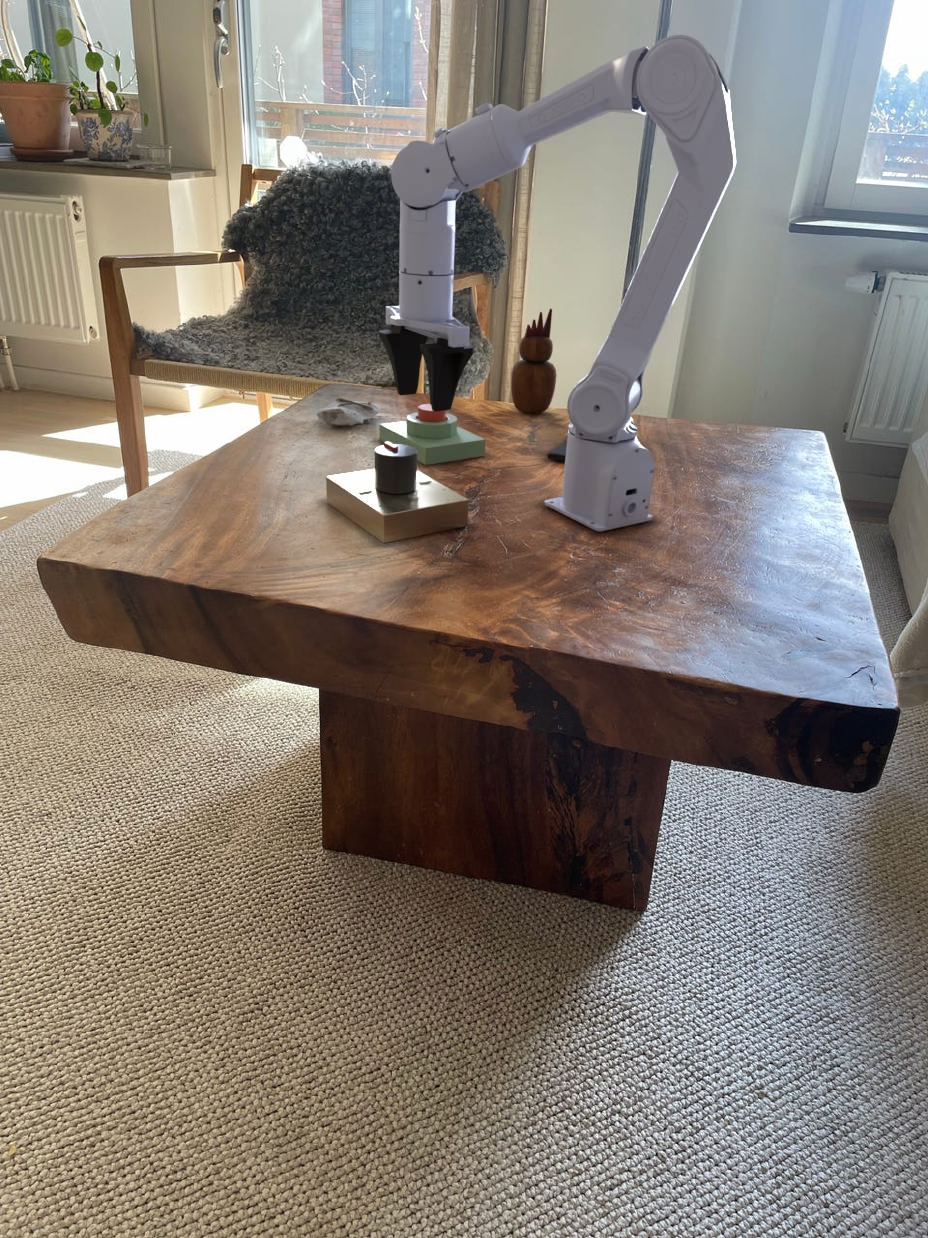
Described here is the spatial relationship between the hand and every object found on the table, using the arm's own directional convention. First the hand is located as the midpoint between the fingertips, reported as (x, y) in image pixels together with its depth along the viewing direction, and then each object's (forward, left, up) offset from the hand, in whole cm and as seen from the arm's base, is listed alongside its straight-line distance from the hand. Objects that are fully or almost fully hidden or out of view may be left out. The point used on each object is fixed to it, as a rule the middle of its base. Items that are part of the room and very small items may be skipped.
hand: (423, 401), depth 99 cm
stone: (+28, -4, -10) cm, 30 cm away
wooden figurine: (+22, -32, -10) cm, 40 cm away
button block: (+12, -8, -10) cm, 17 cm away
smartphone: (+2, -27, -10) cm, 29 cm away
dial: (-7, +8, -7) cm, 12 cm away
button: (+12, -8, -6) cm, 16 cm away
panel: (-7, +8, -10) cm, 14 cm away
